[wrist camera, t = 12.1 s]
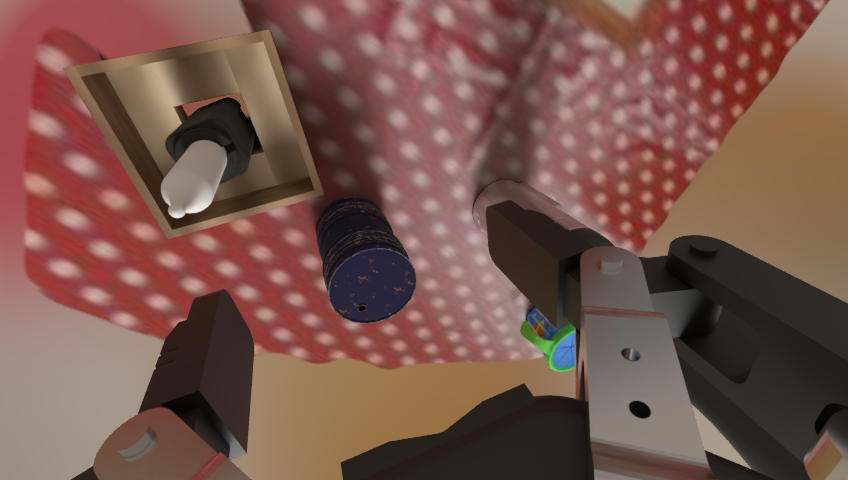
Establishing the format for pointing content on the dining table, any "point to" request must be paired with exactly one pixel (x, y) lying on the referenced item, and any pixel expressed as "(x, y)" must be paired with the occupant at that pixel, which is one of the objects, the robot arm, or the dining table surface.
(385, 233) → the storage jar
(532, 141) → the dining table surface
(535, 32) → the dining table surface
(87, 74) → the peg box
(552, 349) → the snack cup
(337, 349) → the dining table surface
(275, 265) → the dining table surface
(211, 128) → the candle
